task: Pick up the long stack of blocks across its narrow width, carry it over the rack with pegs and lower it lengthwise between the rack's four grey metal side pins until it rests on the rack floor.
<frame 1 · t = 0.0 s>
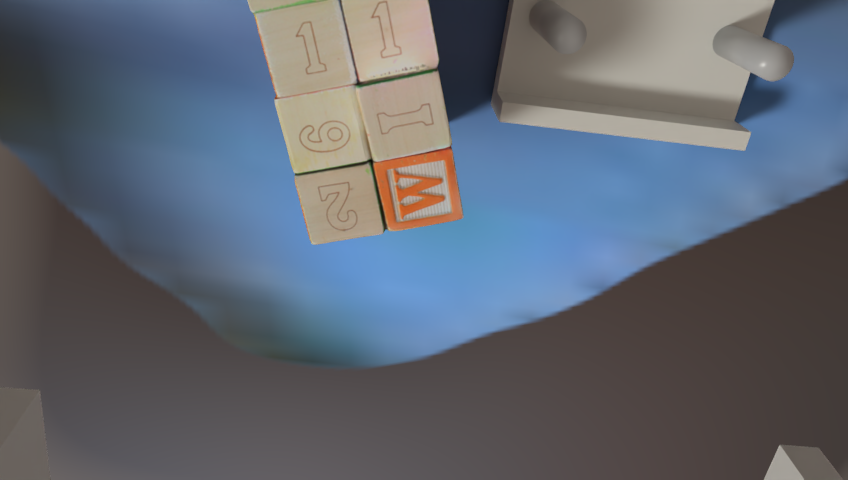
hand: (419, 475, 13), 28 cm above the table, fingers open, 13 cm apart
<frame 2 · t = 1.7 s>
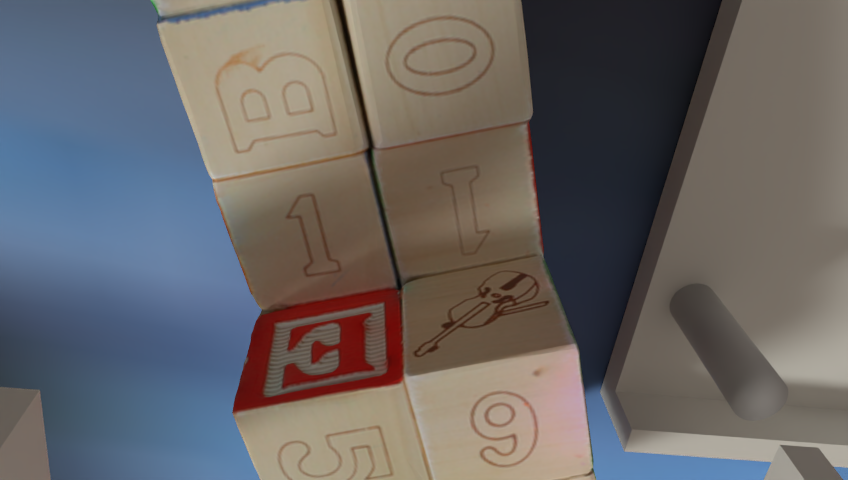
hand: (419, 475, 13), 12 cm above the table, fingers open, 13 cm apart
stack of blocks: (405, 179, 24), on the table
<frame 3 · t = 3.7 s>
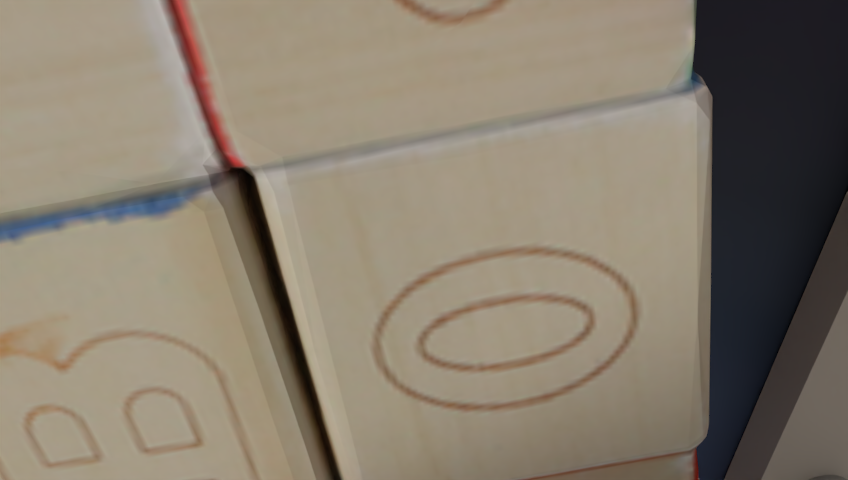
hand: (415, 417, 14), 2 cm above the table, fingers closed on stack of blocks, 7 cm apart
stack of blocks: (408, 328, 16), on the table, touching gripper
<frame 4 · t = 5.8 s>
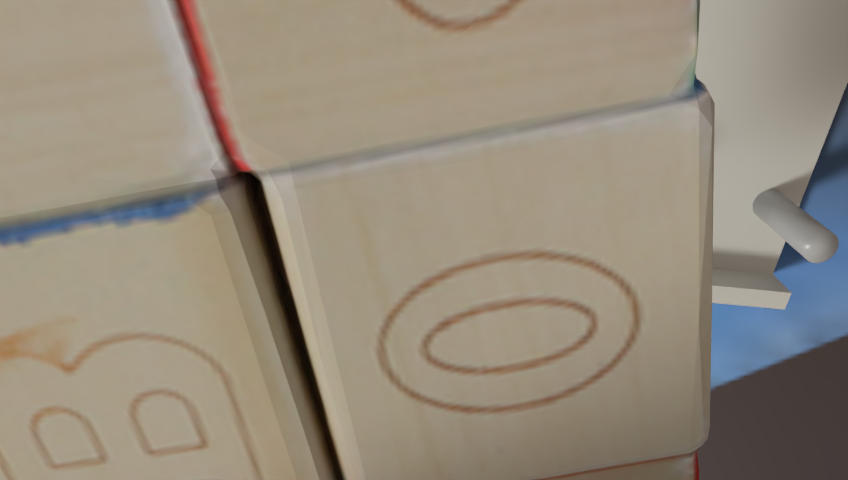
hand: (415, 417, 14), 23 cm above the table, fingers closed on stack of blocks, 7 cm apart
stack of blocks: (407, 330, 16), point 21 cm above the table, touching gripper
rack with pegs: (714, 40, 34), on the table
when the fingers open (5 cm above the table, at t = 9.8 s): stack of blocks stays where it is, resting on rack with pegs.
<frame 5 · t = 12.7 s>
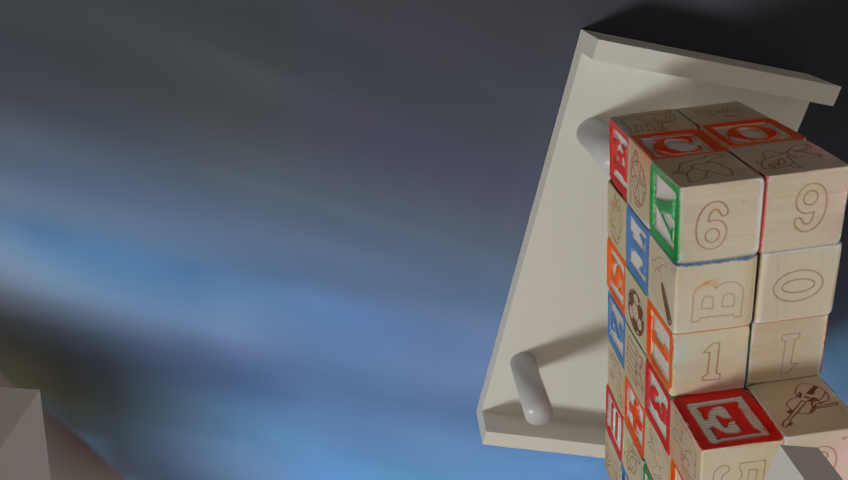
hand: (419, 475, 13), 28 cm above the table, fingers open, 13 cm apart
stack of blocks: (661, 303, 38), point 6 cm above the table, touching rack with pegs
rack with pegs: (625, 258, 43), on the table
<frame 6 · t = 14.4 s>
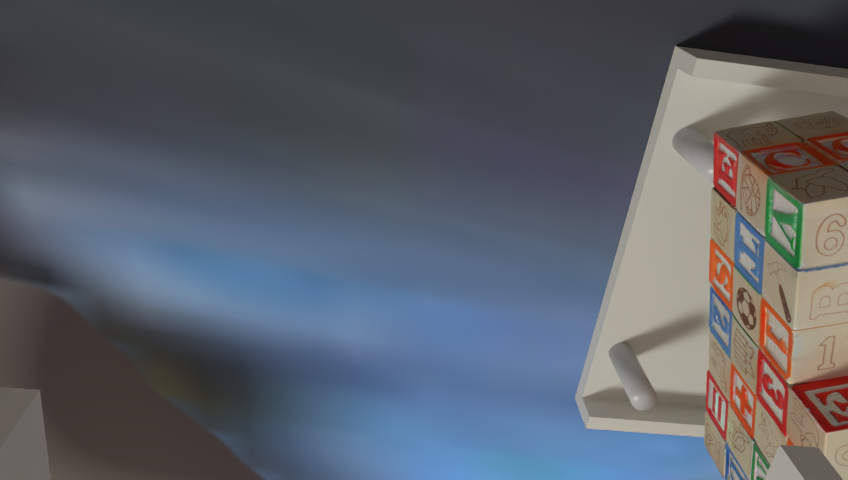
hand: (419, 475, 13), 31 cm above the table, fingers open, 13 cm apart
stack of blocks: (758, 295, 41), point 6 cm above the table, touching rack with pegs
rack with pegs: (715, 252, 47), on the table
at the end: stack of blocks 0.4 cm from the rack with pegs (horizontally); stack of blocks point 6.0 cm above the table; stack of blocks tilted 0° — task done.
